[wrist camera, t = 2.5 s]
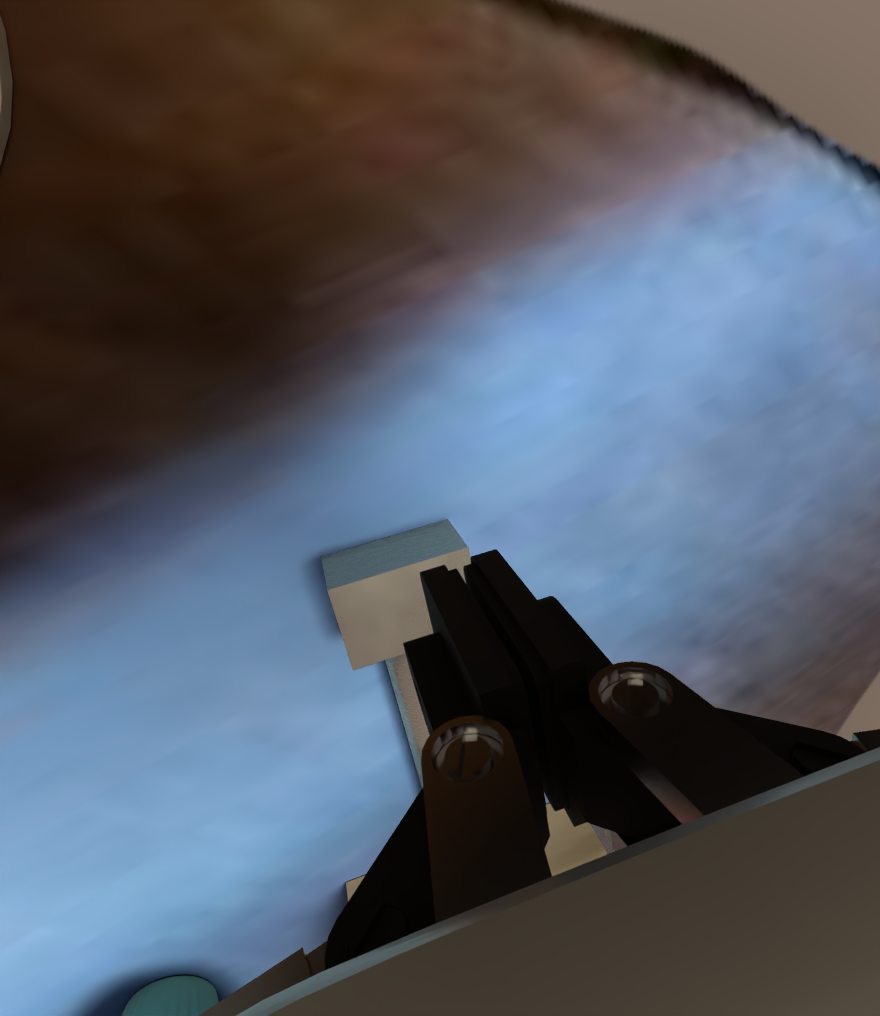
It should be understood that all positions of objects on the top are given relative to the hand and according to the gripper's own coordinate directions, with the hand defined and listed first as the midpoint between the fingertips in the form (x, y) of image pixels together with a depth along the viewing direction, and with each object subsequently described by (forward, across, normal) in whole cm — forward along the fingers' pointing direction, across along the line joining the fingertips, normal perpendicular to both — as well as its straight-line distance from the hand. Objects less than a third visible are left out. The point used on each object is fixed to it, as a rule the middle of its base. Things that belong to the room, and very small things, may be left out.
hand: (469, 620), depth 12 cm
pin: (+13, 0, +14) cm, 19 cm away
